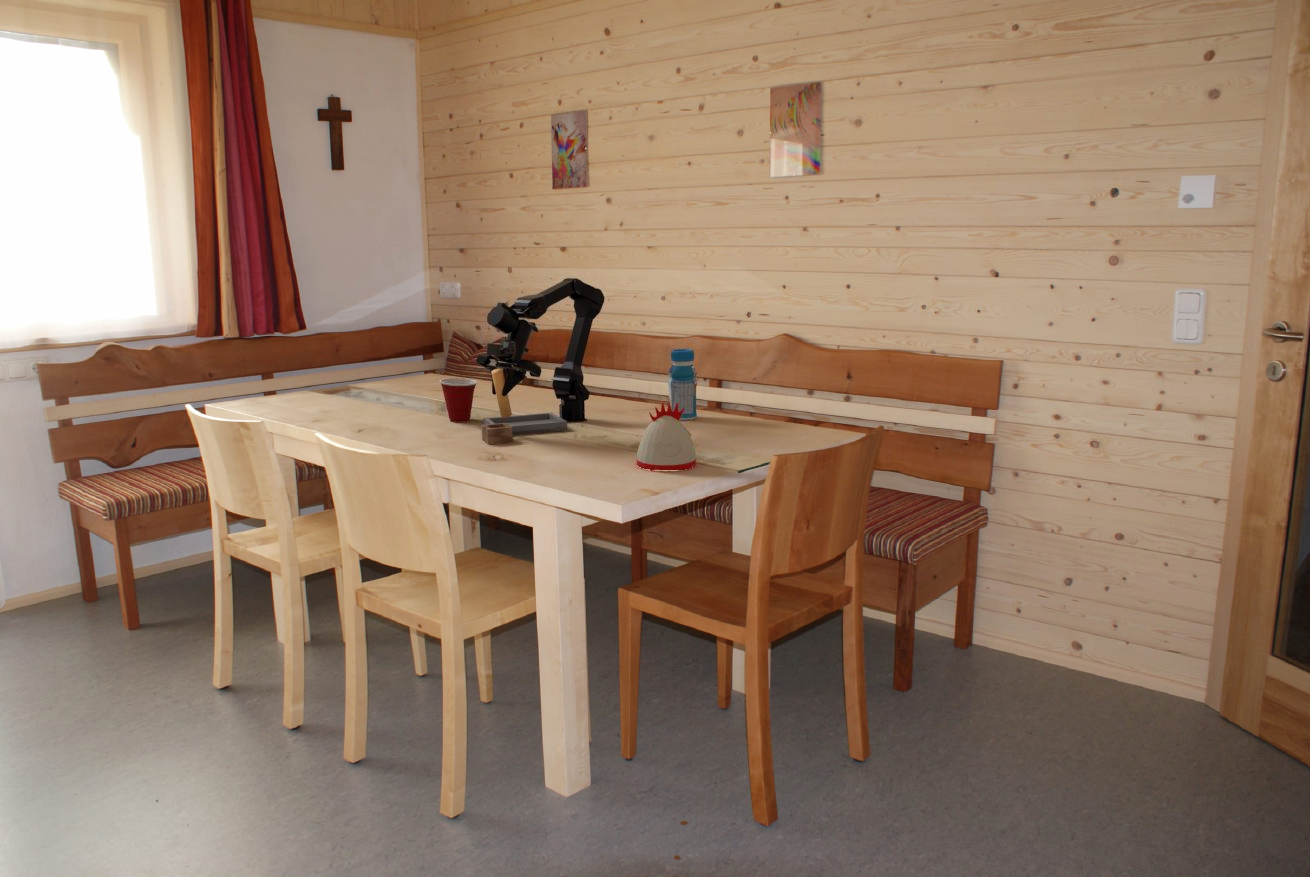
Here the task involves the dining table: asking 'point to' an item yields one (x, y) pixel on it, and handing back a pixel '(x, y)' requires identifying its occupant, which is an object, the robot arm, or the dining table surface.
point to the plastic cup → (458, 397)
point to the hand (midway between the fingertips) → (498, 395)
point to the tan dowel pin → (502, 400)
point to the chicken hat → (666, 443)
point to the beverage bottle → (683, 383)
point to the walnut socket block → (497, 433)
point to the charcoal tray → (531, 423)
